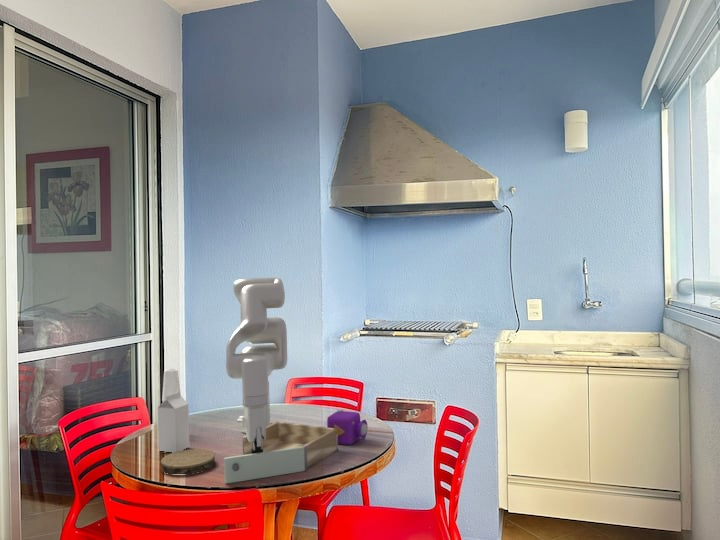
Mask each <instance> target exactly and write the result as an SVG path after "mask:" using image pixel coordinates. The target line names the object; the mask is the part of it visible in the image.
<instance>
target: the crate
mask: <svg viewBox="0 0 720 540" xmlns="http://www.w3.org/2000/svg"><path fill="white" fill-rule="evenodd" d="M272 423H273V424H271V425H269V426H266V439H265V440H264V441H263V452H268V451H274V450H281V449H288V448H295V447H302V446H307V470H309V469H310V468H312V467H314V466H315V465H317V464H318V463H320V462H321V461H324V459H326V458H328V457H330V456H331V455H332V454H334V453H336V452H337V451H339V444H338V431H337V429H335V428H327V427H326V426H324V427H323V426H318V425H317V426H316V425H309V424H300V423H292V422H283V421H276V422H272ZM251 448H252V441H251V442H249V441H248V439H247V436H246V435H244V436H242V455H247V454H252V453H251ZM335 451H336V452H335Z"/></svg>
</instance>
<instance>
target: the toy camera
mask: <svg viewBox="0 0 720 540" xmlns="http://www.w3.org/2000/svg"><path fill="white" fill-rule="evenodd" d="M326 426H327V428H335V429H337V431H338V445H347V446H348V445H352V444H354V443H355V442H357V441H358V440H359V439H362V440H364V439H366V437H367V434H368V422H367V420H366V419H362V420H361V415H360V413H359V412H357V411H345V410H344V409H338V410H337V411H335V412H333V413H332V414H331V415H329V416H328V417H327V420H326Z"/></svg>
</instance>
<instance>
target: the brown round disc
mask: <svg viewBox="0 0 720 540" xmlns="http://www.w3.org/2000/svg"><path fill="white" fill-rule="evenodd" d="M215 458H216V457H215V452H214V451H212V450H209V449H206V448H205V449H204V448H193V449H192V448H191V449H185V450H182V451H177V452H174V453H169V454H166V455H164V457H163V458H161V461H160V470H161V469H162V471H163V472H165V473H168V474H192V473H196V474H198V473H197V472H201V471H203V472H205V471H204V470H206V471H208V470H210V469H212V468H213V467H214V466H215V465H214V464H216V462H215V461H216V460H215ZM213 465H214V466H213ZM212 466H213V467H212ZM211 467H212V468H211ZM209 468H210V469H209ZM207 469H208V470H207ZM162 471H161V472H162ZM163 472H162V473H163ZM201 473H202V472H201ZM192 475H193V474H192Z"/></svg>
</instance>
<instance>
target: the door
mask: <svg viewBox="0 0 720 540" xmlns="http://www.w3.org/2000/svg"><path fill="white" fill-rule="evenodd" d="M223 464H224V465H223V466H224V467H223V468H224V470H223V471H224V484H233V483H239V482H244V481H250V480H256V479H263V478H269V477H275V476H276V477H277V476H282V475H286V474H289V475H290V474H295V473H299V472H300V473H301V472H306V471H307V472H308V469H307V446H302V447H295V448H288V449H281V450H274V451H268V452H261V453H254V454H247V455H243V454H240V455H236V456H235V455H233V456H228V457H223Z"/></svg>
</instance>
